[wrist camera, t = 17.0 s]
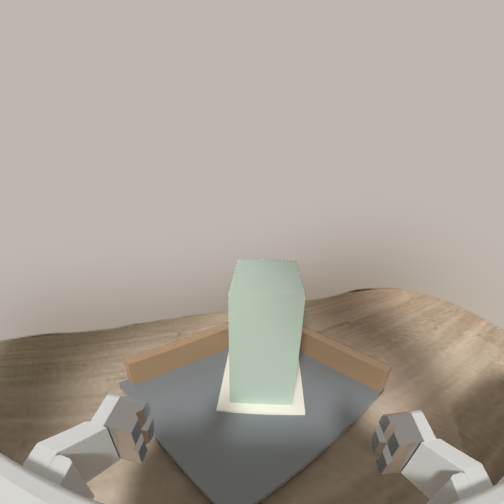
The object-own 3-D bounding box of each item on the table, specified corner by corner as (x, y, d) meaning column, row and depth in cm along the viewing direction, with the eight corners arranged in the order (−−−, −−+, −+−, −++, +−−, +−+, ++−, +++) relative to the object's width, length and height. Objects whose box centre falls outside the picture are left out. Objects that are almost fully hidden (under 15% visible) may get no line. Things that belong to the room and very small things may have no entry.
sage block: (229, 402, 23) (228, 292, 20) (237, 354, 29) (238, 258, 26) (291, 405, 22) (305, 295, 19) (288, 356, 29) (296, 261, 26)
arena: (230, 520, 13) (229, 503, 12) (120, 387, 24) (113, 362, 23) (383, 391, 24) (391, 366, 23) (264, 329, 36) (265, 307, 35)
